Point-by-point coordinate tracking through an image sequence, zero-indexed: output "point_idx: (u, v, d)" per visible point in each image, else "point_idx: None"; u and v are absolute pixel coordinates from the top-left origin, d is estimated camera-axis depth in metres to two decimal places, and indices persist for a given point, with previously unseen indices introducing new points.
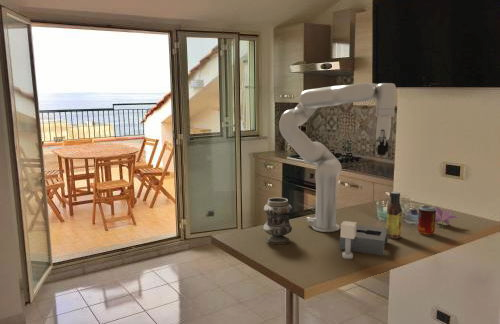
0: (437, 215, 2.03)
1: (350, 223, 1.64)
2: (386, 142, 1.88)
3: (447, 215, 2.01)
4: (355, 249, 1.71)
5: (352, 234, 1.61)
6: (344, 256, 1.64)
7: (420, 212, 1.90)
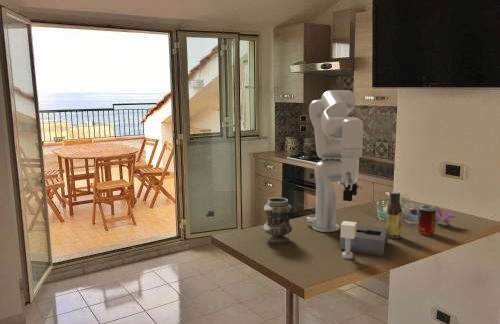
0: (437, 215, 2.03)
1: (350, 223, 1.64)
2: (354, 184, 1.65)
3: (447, 215, 2.01)
4: (355, 249, 1.71)
5: (352, 234, 1.61)
6: (344, 256, 1.64)
7: (420, 212, 1.90)
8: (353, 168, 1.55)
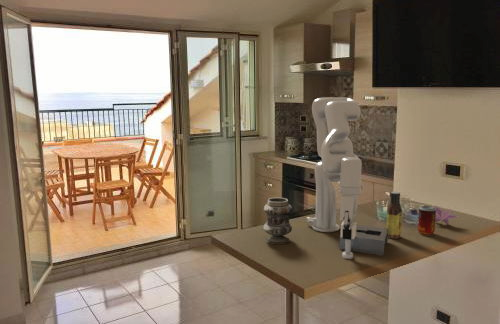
0: (436, 215, 2.03)
1: None
2: None
3: (446, 215, 2.01)
4: (355, 249, 1.71)
5: (352, 234, 1.61)
6: (344, 256, 1.64)
7: (420, 212, 1.90)
8: (351, 206, 1.57)
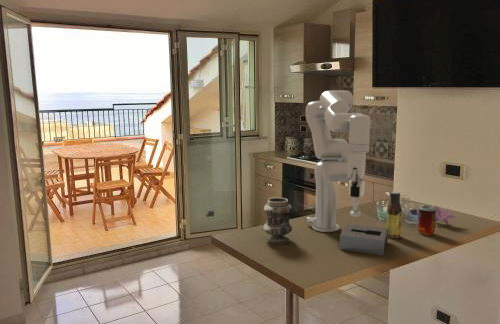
0: (436, 214, 2.04)
1: None
2: None
3: (446, 214, 2.02)
4: (355, 249, 1.71)
5: (360, 192, 1.61)
6: (352, 214, 1.65)
7: (420, 212, 1.90)
8: (360, 163, 1.58)
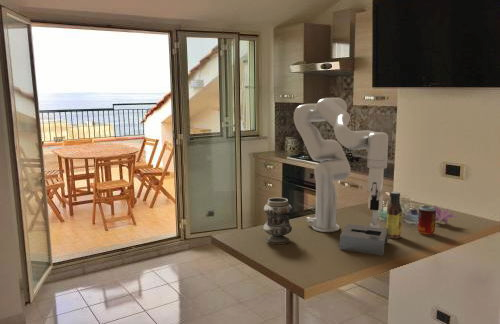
0: None
1: None
2: None
3: (445, 214, 2.02)
4: (355, 249, 1.71)
5: (379, 205, 1.70)
6: (371, 226, 1.73)
7: (420, 212, 1.90)
8: (379, 178, 1.67)
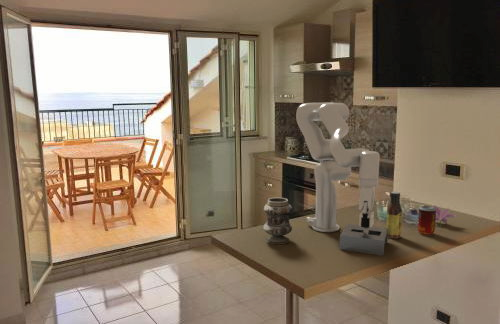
0: None
1: None
2: None
3: (445, 214, 2.02)
4: (355, 249, 1.71)
5: (370, 223, 1.73)
6: None
7: (420, 212, 1.90)
8: (370, 197, 1.69)
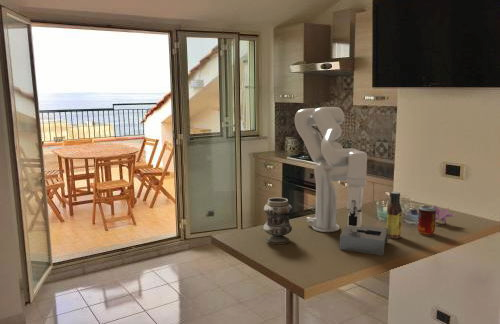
0: None
1: None
2: (359, 209, 1.81)
3: (444, 214, 2.03)
4: (355, 249, 1.71)
5: (358, 223, 1.75)
6: None
7: (420, 212, 1.90)
8: (358, 196, 1.71)
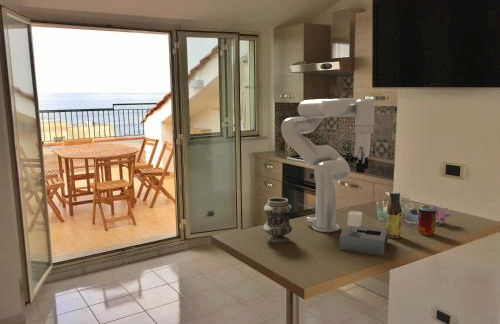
0: None
1: (356, 213, 1.77)
2: (366, 159, 1.83)
3: (443, 213, 2.04)
4: (355, 249, 1.71)
5: (358, 223, 1.75)
6: None
7: (420, 212, 1.90)
8: (365, 143, 1.73)
